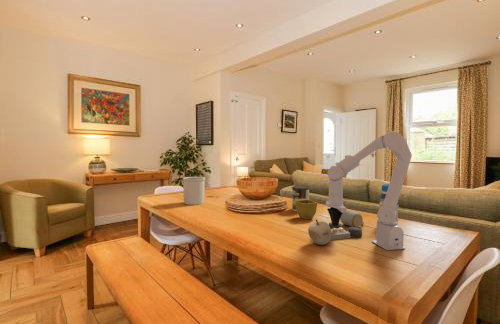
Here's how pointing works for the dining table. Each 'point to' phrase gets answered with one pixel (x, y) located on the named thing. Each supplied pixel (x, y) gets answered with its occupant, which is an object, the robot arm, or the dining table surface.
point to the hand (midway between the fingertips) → (335, 225)
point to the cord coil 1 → (334, 226)
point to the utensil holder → (193, 190)
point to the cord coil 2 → (355, 232)
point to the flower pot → (306, 208)
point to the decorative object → (320, 232)
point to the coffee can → (299, 195)
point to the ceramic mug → (351, 218)
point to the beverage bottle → (383, 195)
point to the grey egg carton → (339, 234)
